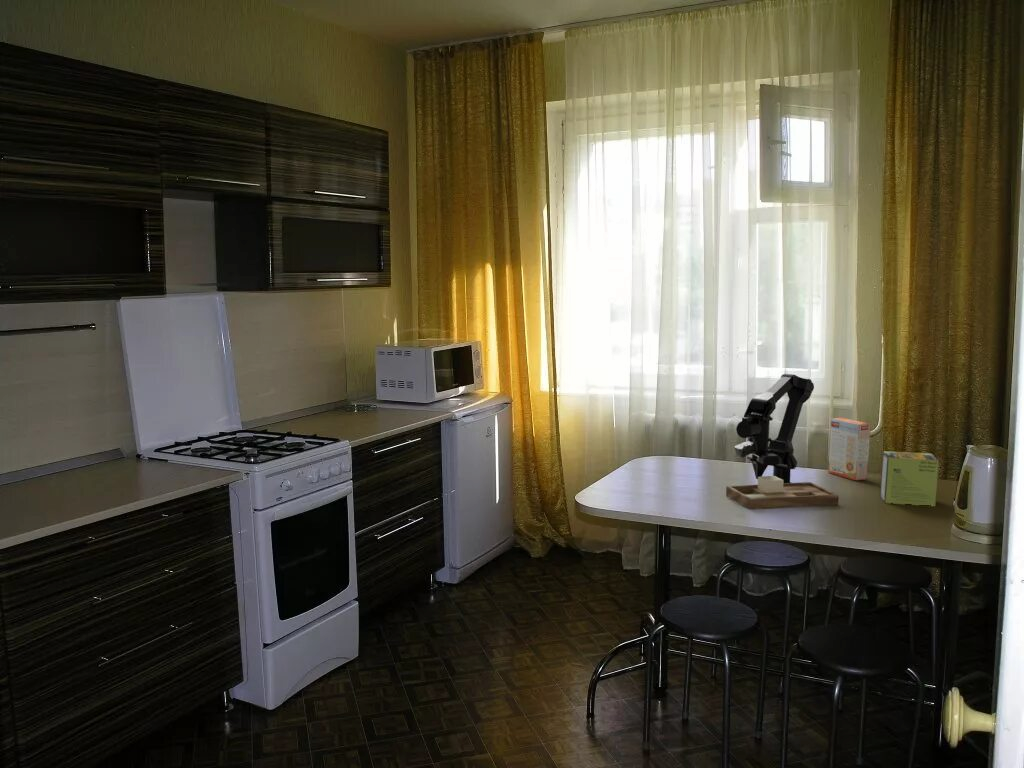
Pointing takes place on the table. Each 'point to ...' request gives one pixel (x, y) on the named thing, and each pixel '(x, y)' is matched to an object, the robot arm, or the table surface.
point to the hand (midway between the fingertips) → (758, 479)
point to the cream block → (770, 484)
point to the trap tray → (782, 496)
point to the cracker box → (849, 448)
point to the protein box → (909, 478)
